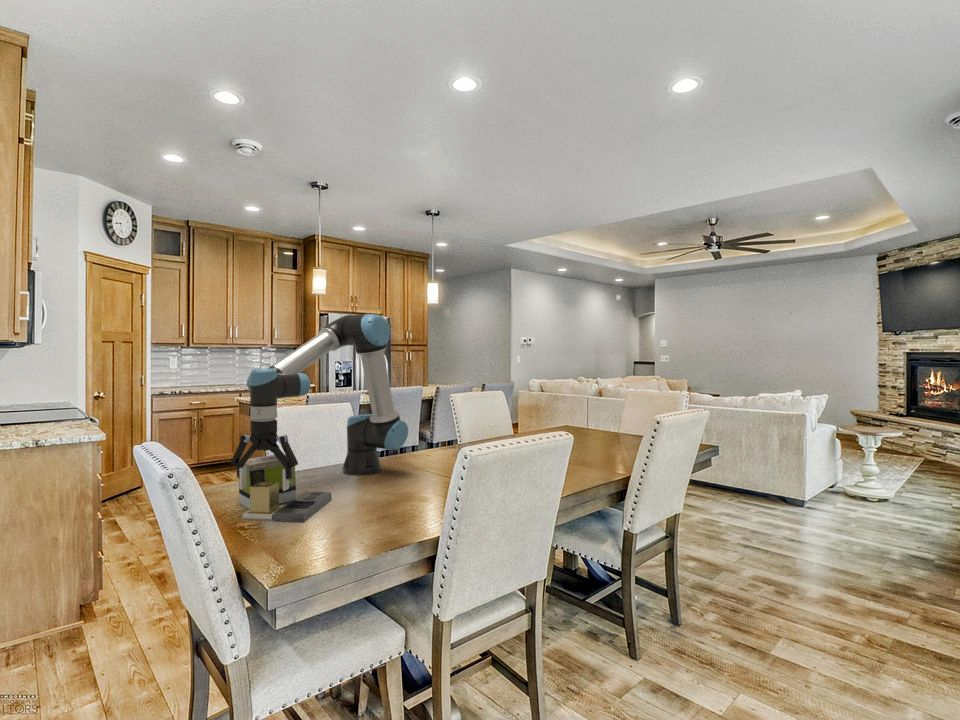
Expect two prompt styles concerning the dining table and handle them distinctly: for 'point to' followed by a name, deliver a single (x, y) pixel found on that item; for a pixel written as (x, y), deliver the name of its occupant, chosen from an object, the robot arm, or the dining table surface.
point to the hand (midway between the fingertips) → (264, 488)
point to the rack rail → (302, 507)
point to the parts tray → (259, 515)
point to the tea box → (267, 478)
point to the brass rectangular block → (264, 497)
